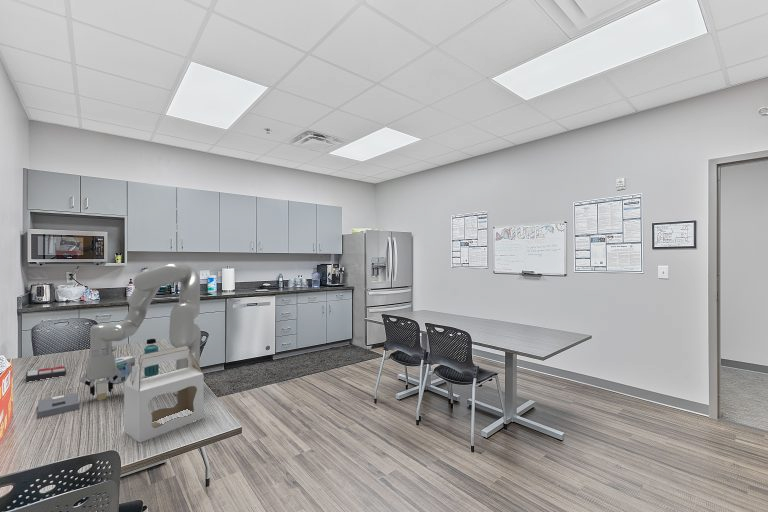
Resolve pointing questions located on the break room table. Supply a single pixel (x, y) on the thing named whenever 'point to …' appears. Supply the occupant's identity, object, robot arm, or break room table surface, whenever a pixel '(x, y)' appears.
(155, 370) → the beverage bottle
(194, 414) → the gable box
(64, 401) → the socket plate
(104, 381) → the plug
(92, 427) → the break room table surface
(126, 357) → the light bulb box
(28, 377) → the sushi tray
